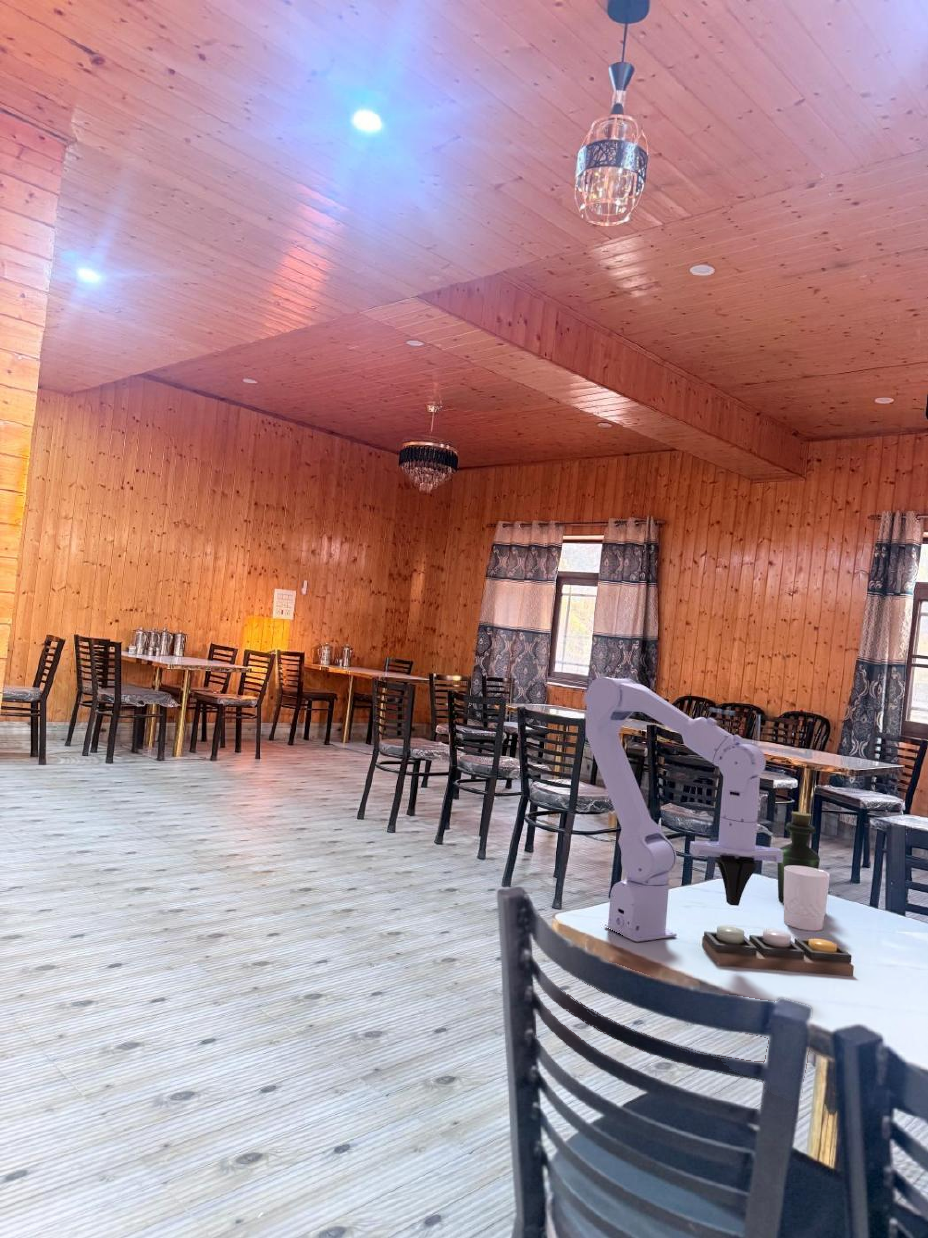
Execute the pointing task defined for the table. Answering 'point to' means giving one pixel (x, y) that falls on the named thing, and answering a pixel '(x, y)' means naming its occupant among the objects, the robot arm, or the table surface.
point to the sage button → (730, 934)
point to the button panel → (777, 955)
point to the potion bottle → (797, 848)
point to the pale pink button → (776, 938)
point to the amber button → (822, 945)
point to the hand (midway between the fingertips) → (732, 903)
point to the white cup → (805, 897)
